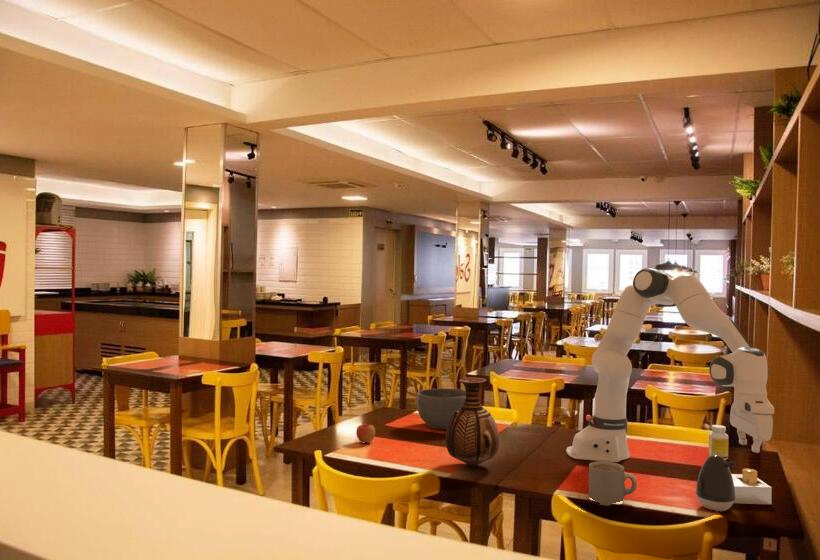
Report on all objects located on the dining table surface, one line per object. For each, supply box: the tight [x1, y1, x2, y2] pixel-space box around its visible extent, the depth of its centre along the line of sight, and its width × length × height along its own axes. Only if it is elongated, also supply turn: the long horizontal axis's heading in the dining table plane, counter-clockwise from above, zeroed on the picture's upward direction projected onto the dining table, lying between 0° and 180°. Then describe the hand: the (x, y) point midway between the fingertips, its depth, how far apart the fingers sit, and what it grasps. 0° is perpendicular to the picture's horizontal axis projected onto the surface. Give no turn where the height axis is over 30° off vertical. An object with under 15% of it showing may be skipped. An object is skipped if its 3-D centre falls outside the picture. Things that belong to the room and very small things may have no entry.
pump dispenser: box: [695, 455, 737, 512], centre depth 189 cm, size 10×10×15 cm
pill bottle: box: [708, 424, 730, 461], centre depth 241 cm, size 6×6×12 cm
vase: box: [445, 377, 500, 468], centre depth 227 cm, size 21×18×30 cm
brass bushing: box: [741, 468, 758, 484], centre depth 199 cm, size 4×4×8 cm
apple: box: [355, 422, 376, 443], centre depth 256 cm, size 7×7×8 cm
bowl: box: [415, 387, 466, 430], centre depth 283 cm, size 24×24×15 cm
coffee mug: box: [588, 461, 638, 507], centre depth 195 cm, size 13×10×10 cm
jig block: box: [731, 473, 773, 505], centre depth 199 cm, size 14×12×5 cm
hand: (749, 448), depth 199 cm, fingers open, 7 cm apart
